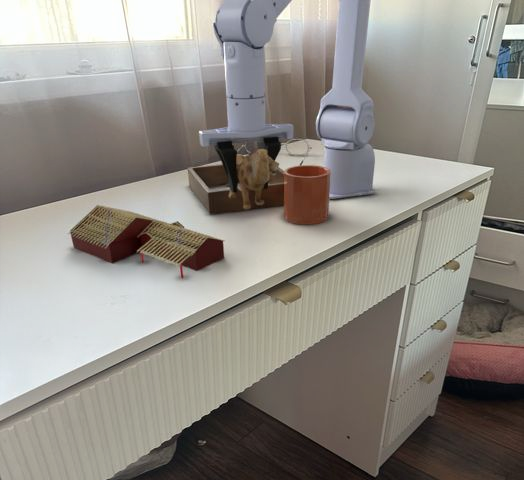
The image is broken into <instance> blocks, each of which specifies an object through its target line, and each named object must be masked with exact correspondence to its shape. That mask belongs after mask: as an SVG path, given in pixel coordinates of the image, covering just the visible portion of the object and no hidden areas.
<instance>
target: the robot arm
mask: <svg viewBox="0 0 524 480" xmlns="http://www.w3.org/2000/svg"><path fill="white" fill-rule="evenodd" d="M292 1H293V0H223V1H222V2H221V4H220V6H219V7H218V8H217V11H216V14H215V20H214V22H213V23H212V28H213V29H212V30H213V33H214V36H215V38H216V40H217V42H218V43H219V46H220V56H221V57H222V60H224V76H225V77H224V78H225V79H224V80H225V96H226V109H227V110H226V112H227V113H226V114H227V115H226V116H227V126H226V127H219V128H214V129H206V130H199V131H198V134H199V145H200V146H201V147H202V148H207V147H210V146H213V147H214V150H215V152H216V154H217V155H218V158H219V160H220V162H221V164H223V166H224V169H225V172H226V175H227V178H228V182H229V186H230V187H229V189H230V190H231V191H232V192H233V193H236V192H237V188H238V183H237V176H236V159H237V154H238V152H237V151H238V150H236V149H235V145H233V144H237V143H238V144H240V143H250V142H252V143H253V142H256V147H257V149H265V150H267V151H268V153H267V154H268V156H269V157H271V158H272V160H274V161H276V160H277V158H278V155H279V153H280V152H281V150H282V145H281V143H282V142H281V141H280V140H283V139H286V140H291V139H294V127H295V126H294V125H293V124H291V123H269V124H268V123H267V124H266V122H267V121H266V70H265V69H266V66H265V64H266V61H265V59H266V58H265V45H267V44H268V43H269V42H271V39H272V37H273V33H274V28H275V25H276V22H277V19H278V17H279V16H280V15H281V14H282V13H283V11H285V9H286V8H287V7H288V6H289V4H290V3H291V2H292ZM371 1H372V0H338V9H337V20H336V34H335V47H334V59H333V60H334V61H333V73H332V85H331V86H332V88H331V89H330V90H329V91H328V92H327V93H325V95H323V97H321V99H320V106H319V107H320V108H319V110H318V114H317V116H316V120H315V131H316V135H317V137H318V139H319V140H320V141H321V142H320V143H321V146H324V147H323V151H324V153H323V167H326V168H328V169H329V170H330V172H331V174H330V193H329V200H337V199H343V198H344V199H345V198H352V197H360V196H367V195H373V194H374V193H375V191H374V190H373V184H374V177H375V176H374V174H375V164H376V156H375V151H374V148H373V147H372V145H371V144H369V142H370V140H371V139H372V136H373V134H374V132H375V117H374V104H375V103H374V101H373V99H372V98H371V97H370V96H369V95H368V94H367V93H366V91H364V90H363V88H362V87H363V78H364V69H365V59H366V49H367V39H368V29H369V19H370V12H371V11H370V10H371ZM268 184H270V182H269V181H267V182H266V183H265V184H264V187H263V189H268Z"/></svg>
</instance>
